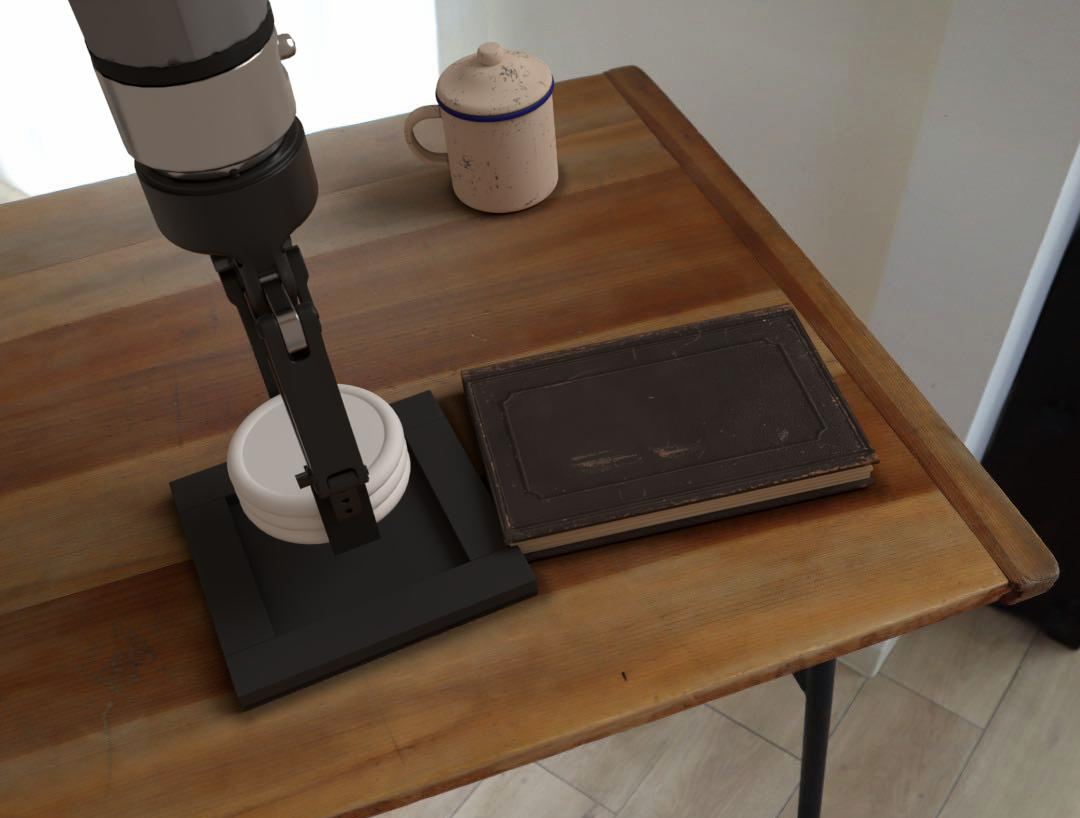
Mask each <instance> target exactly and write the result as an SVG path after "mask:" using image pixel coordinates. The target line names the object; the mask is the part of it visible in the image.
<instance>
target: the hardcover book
mask: <svg viewBox="0 0 1080 818" xmlns="http://www.w3.org/2000/svg"><path fill="white" fill-rule="evenodd" d="M793 307H794V306H793V305H792V304H791V303H789V302H786V303H782V304H776V305H772V306H767V307H766V306H765V307H762V308H757V309H752V310H748V311H743V312H742V311H741V312H738V313H733V314H729V315H724V316H718V317H714V318H709V319H704V320H699V321H694V322H689V323H685V324H684V323H683V324H679V325H675V326H670V327H666V328H661V329H656V330H651V331H646V332H642V333H636V334H631V335H627V336H622V337H617V338H612V339H609V340H603V341H599V342H593V343H588V344H584V345H583V344H582V345H578V346H574V347H569V348H565V349H560V350H555V351H554V350H553V351H550V352H544V353H540V354H536V355H531V356H526V357H521V358H516V359H511V360H506V361H501V362H496V363H491V364H487V365H483V366H477V367H473V368H469V369H468V368H467V369H463V370H460V377H461V384H462V389H463V393H464V398H465V402H466V406H467V409H468V413H469V417H470V421H471V425H472V427H473V428H472V429H473V433H474V436H475V441H476V444H477V448H478V451H479V456H480V461H481V463H482V468H483V471H484V475H485V478H486V483H487V488H488V492H489V495H490V496H491V498H492V500H493V502H494V504H495V507H496V511H497V514H498V518H499V522H500V526H501V530H502V534H503V538H504V541H505V545H510V546H515V545H518V546H519V548H520V550H521V552H522V553H523V555H524V557H525V559H526V560H527V562H530V561H534V560H540V559H544V558H545V559H546V558H549V557H553V556H558V555H563V554H567V553H571V552H576V551H580V550H584V549H590V548H594V547H595V548H596V547H598V546H599V547H600V546H603V545H608V544H612V543H617V542H622V541H625V540H630V539H635V538H640V537H644V536H649V535H652V534H659V533H662V532H666V531H671V530H676V529H680V528H685V527H690V526H694V525H698V524H702V523H708V522H712V521H717V520H722V519H725V518H730V517H735V516H740V515H743V514H744V515H745V514H748V513H752V512H758V511H762V510H766V509H771V508H775V507H780V506H783V505H784V506H785V505H789V504H794V503H798V502H804V501H808V500H812V499H816V498H821V497H825V496H830V495H835V494H838V493H843V492H847V491H852V490H857V489H862V488H866V487H870V486H875V485H876V484H877V483H876V480H875V478H874V477H873V476H874V475H872V473H871V472H873V471H874V467H873V465H878V464H880V463H881V460H880V458H879V456H878V454H877V453H876V451H875V449H874V447H873V445H872V444H871V442H870V440H869V439H868V436H867V435H866V433H865V432H864V430H863V428H862V426H861V425H860V423H859V421H858V419H857V417H856V416H855V414H854V413H853V411H852V409H851V407H850V405H849V403H848V402H847V400H846V398H845V397H844V395H843V393H842V391H841V390H840V388H839V386H838V384H837V382H836V381H835V379H834V377H833V376H832V374H831V372H830V370H829V369H828V367H827V365H826V364H825V362H824V359H823V357H822V356H821V354H820V353H819V351H818V349H817V347H816V346H815V344H814V342H813V341H812V339H811V337H810V336H809V334H808V332H807V330H806V329H805V327H804V325H803V322H802V321H801V319H800V317H799V316H798V314H797V312H796V310H795V309H794V308H793Z"/></svg>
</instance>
